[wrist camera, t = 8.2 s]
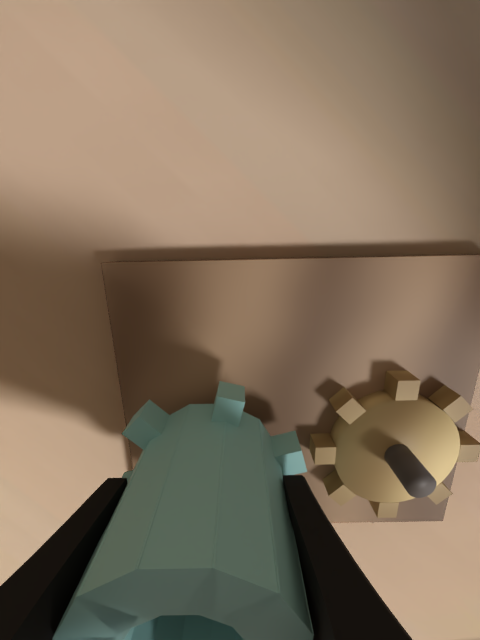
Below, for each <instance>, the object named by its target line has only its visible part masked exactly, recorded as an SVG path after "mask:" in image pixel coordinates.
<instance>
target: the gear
mask: <svg viewBox="0 0 480 640" xmlns="http://www.w3.org/2000/svg"><path fill="white" fill-rule="evenodd" d="M244 405H245V386H241V385H236V384H231V383H227V382H222V381H219V385H218V389H217V393H216V397H215V401H214V404H189V405H187V406H185V407H183V408H182V409H180V410H178V411H176V412H174V413H173V414H171V415H169V414H167V413H166V412H165V411H164V410H162V409H161V408H160V407H159V406H157V405H156V404H155V403H153V402H152V401H151V400H150V399H149V400H148V401H147V402H146V403H145V404H144V405H143V406H142V407H141V408H140V409H139V411H138V412H137V413H136V414H135V415H134V416H133V417H132V419H131V420H130V422H129V424H128V425H127V427H126V428H125V430H124V431H123V433H122V435H124V436H125V437H127V438H128V439H129V440H131V441H132V442H133V443H135V444H136V445H137V446H139V447H140V448H142V449H143V451H142V453H141V455H140V457H139V459H138V461H137V463H136V466H135V468H134V470H132V471H128V472H125V473H124V474H123V476H122V478H127V483H128V484H127V486H126V488H125V490H124V492H123V494H122V496H121V498H120V500H119V502H118V504H117V506H116V509H115V511H114V513H113V515H112V517H111V519H110V521H109V523H108V525H107V527H106V529H105V531H104V533H103V534H102V536H101V538H100V540H99V542H98V544H97V547H96V549H95V551H94V553H93V555H92V557H91V559H90V561H89V563H88V565H87V567H86V569H85V571H84V574H83V576H82V578H81V580H80V582H79V584H78V586H77V588H76V590H75V592H74V594H73V596H72V598H71V601H70V603H69V605H68V607H67V609H66V611H65V613H64V615H63V617H62V619H61V621H60V623H59V625H58V627H57V630H56V632H55V634H54V636H53V638H52V640H313V636H314V633H313V628H312V622H311V617H310V612H309V607H308V602H307V597H306V591H305V586H304V581H303V576H302V571H301V565H300V560H299V555H298V550H297V545H296V540H295V535H294V531H293V528H292V524H291V520H290V516H289V511H288V506H287V501H286V495H285V490H284V485H283V475H295V474H300V473H304V472H307V468H306V465H305V461H304V457H303V454H302V450H301V447H300V444H299V440H298V437H297V434H296V431H291V432H287V433H283V434H279V435H275V436H270V434H269V433H268V431H267V430H266V428H265V427H264V425H263V424H262V422H261V421H260V419H258V418H256V417H254V416H252V415H250V414H248V413H246V412H244V411H243V408H244Z"/></svg>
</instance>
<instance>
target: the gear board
mask: <svg viewBox="0 0 480 640" xmlns="http://www.w3.org/2000/svg"><path fill="white" fill-rule="evenodd" d="M101 266H102V272H103V279H104V285H105V292H106V298H107V304H108V311H109V317H110V324H111V330H112V337H113V343H114V349H115V356H116V362H117V369H118V375H119V382H120V388H121V395H122V401H123V407H124V414H125V420H126V427H127V425H128V424H129V422H130V420H131V419H132V417H133V416H134V415H135V414H136V413H137V412H138V411H139V409H140V408H141V407H142V406H143V405H144V404H145V403H146V402H147V401H148V400H149V399H150V400H151V401H152V402H153V403H155V404H156V405H157V406H159V407H160V408H161V409H162V410H164V411H165V412H166V413H167V414H169V415H171V414H173V413H174V412H176V411H178V410H180V409H182V408H183V407H185V406H187V405H189V404H214V401H215V397H216V393H217V389H218V385H219V381H222V382H227V383H231V384H236V385H241V386H245V405H244V408H243V411H244V412H246V413H248V414H250V415H252V416H254V417H256V418H258V419H260V421H261V422H262V424H263V425H264V427H265V428H266V430H267V431H268V433H269V434H270V436H275V435H279V434H283V433H287V432H291V431H296V434H297V437H298V440H299V444H300V447H301V450H302V454H303V457H304V461H305V465H306V468H307V472H304V473H300V474H295V475H303V476H304V477H305V479H306V481H307V483H308V485H309V487H310V488H311V490H312V492H313V494H314V496H315V498H316V499H317V501H318V503H319V505H320V506H321V508H322V510H323V511H324V513H325V515H326V517H327V518H328V520H329V521H330V523H349V522H408V521H443V518H444V514H445V510H446V506H447V502H448V497H449V496H450V495H452V494H453V493H452V492H451V491H450V489H451V485H452V481H453V477H454V472H455V468H456V464H457V462H477V461H478V457H479V453H480V443H479V442H478V441H477V440H475V439H474V438H473V437H472V436H470V435H469V434H468V433H467V432H465V427H466V422H467V418H468V414H469V412H470V411H472V410H473V408H472V407H471V402H472V397H473V393H474V389H475V385H476V381H477V377H478V372H479V368H480V254H475V255H426V256H377V257H327V258H278V259H229V260H179V261H130V262H105V263H101ZM128 440H129V439H128ZM129 446H130V452H131V459H132V465H133V470H134V468H135V466H136V463H137V461H138V459H139V457H140V455H141V453H142V451H143V449H142V448H140V447H139V446H137V445H136V444H135V443H133V442H132V441H131V440H129Z"/></svg>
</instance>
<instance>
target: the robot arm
mask: <svg viewBox="0 0 480 640" xmlns="http://www.w3.org/2000/svg"><path fill="white" fill-rule="evenodd" d="M127 484H128V483H127V478H108V479H107V480H106V481H105V482H104V483H103V484H102V485H101V486H100V487H99V488H98V489H97V490H96V491H95V492H94V493H93V494H92V495H91V496H90V497H89V498H88V499H87V500H86V501H85V502H84V503H83V504H82V505H81V507H80V508H79V509H78V510H77V511H76V512H75V513H74V514H73V515H72V516H71V517H70V518H69V519H68V520H67V521H66V522H65V523H64V524H63V525H62V526H61V527H60V528H59V529H58V530H57V531H56V532H55V533H54V534H53V535H52V536H51V537H50V538H49V539H48V540H47V541H46V542H45V543H44V544H43V545H42V546H41V547H40V548H39V549H38V550H37V551H36V552H35V553H34V554H33V555H32V556H31V557H30V558H29V559H28V560H27V561H26V562H25V563H24V564H23V565H22V566H21V567H20V568H19V569H18V570H17V571H16V572H15V573H14V574H13V575H12V576H11V577H9V578H8V579H7V580H6V581H5V582H4V583H3V584H2V585H1V586H0V640H52V638H53V636H54V634H55V632H56V630H57V627H58V625H59V623H60V621H61V619H62V617H63V615H64V613H65V611H66V609H67V607H68V605H69V603H70V601H71V598H72V596H73V594H74V592H75V590H76V588H77V586H78V584H79V582H80V580H81V578H82V576H83V574H84V571H85V569H86V567H87V565H88V563H89V561H90V559H91V557H92V555H93V553H94V551H95V549H96V547H97V544H98V542H99V540H100V538H101V536H102V534H103V533H104V531H105V529H106V527H107V525H108V523H109V521H110V519H111V517H112V515H113V513H114V511H115V509H116V506H117V504H118V502H119V500H120V498H121V496H122V494H123V492H124V490H125V488H126V486H127ZM283 485H284V490H285V495H286V501H287V506H288V511H289V516H290V520H291V524H292V528H293V531H294V535H295V540H296V545H297V550H298V555H299V560H300V565H301V571H302V576H303V581H304V586H305V591H306V597H307V602H308V607H309V612H310V617H311V622H312V628H313V633H314V636H313V640H412V638H411V637H410V636H409V635H408V633H407V632H406V631H405V629H404V628H403V627H402V626H401V624H400V623H399V622H398V620H397V619H396V618H395V616H394V615H393V614H392V612H391V611H390V610H389V608H388V607H387V605H386V604H385V603H384V601H383V600H382V599H381V597H380V596H379V595H378V593H377V592H376V590H375V589H374V588H373V586H372V585H371V583H370V582H369V580H368V579H367V578H366V576H365V575H364V573H363V572H362V571H361V569H360V568H359V566H358V565H357V563H356V562H355V560H354V559H353V557H352V556H351V554H350V553H349V551H348V550H347V548H346V547H345V545H344V543H343V542H342V540H341V539H340V537H339V536H338V534H337V533H336V531H335V530H334V528H333V526H332V525H331V523H330V521H329V520H328V518H327V517H326V515H325V513H324V511H323V510H322V508H321V506H320V505H319V503H318V501H317V499H316V498H315V496H314V494H313V492H312V490H311V488H310V487H309V485H308V483H307V481H306V479H305V477H304V476H303V475H283Z"/></svg>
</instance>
